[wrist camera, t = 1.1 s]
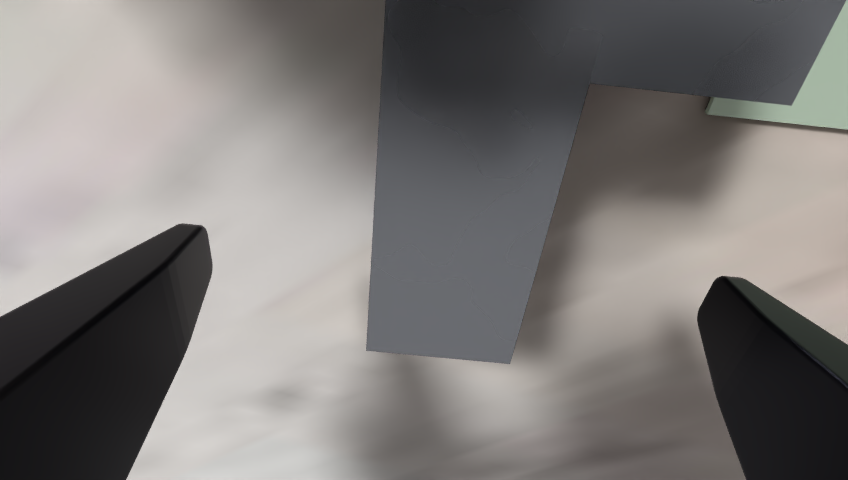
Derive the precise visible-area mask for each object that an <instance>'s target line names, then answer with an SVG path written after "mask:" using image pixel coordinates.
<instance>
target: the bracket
mask: <svg viewBox="0 0 848 480" xmlns="http://www.w3.org/2000/svg"><path fill="white" fill-rule="evenodd" d="M845 2H846V0H386V4H385V22H384V40H383V58H382V76H381V94H380V112H379V130H378V148H377V166H376V184H375V202H374V220H373V238H372V256H371V274H370V292H369V310H368V328H367V346H366V351H377V352H387V353H398V354H409V355H419V356H430V357H441V358H452V359H462V360H473V361H484V362H494V363H505V364H510V362H511V358H512V355H513V351H514V348H515V344H516V341H517V337H518V334H519V330H520V327H521V323H522V320H523V316H524V313H525V309H526V306H527V302H528V299H529V295H530V292H531V288H532V284H533V281H534V277H535V274H536V270H537V267H538V263H539V260H540V256H541V253H542V249H543V246H544V242H545V239H546V235H547V232H548V228H549V225H550V221H551V218H552V214H553V210H554V207H555V203H556V200H557V196H558V193H559V189H560V186H561V182H562V179H563V175H564V172H565V168H566V165H567V161H568V158H569V154H570V151H571V147H572V144H573V140H574V137H575V133H576V129H577V126H578V122H579V119H580V115H581V112H582V108H583V105H584V101H585V98H586V94H587V91H588V87H589V84H590V83H591V84H600V85H609V86H618V87H627V88H636V89H645V90H654V91H663V92H672V93H681V94H690V95H699V96H708V97H717V98H726V99H735V100H744V101H753V102H762V103H771V104H780V105H789V106H792V104H793V102H794V100H795V98H796V97H797V95H798V93H799V91H800V89H801V87H802V85H803V83H804V81H805V79H806V77H807V75H808V73H809V71H810V69H811V68H812V66H813V64H814V62H815V60H816V58H817V56H818V54H819V52H820V50H821V48H822V46H823V44H824V42H825V41H826V39H827V37H828V35H829V33H830V31H831V29H832V27H833V25H834V23H835V21H836V19H837V17H838V15H839V13H840V12H841V10H842V8H843V6H844V4H845Z"/></svg>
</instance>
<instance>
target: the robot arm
mask: <svg viewBox="0 0 848 480" xmlns="http://www.w3.org/2000/svg"><path fill="white" fill-rule="evenodd" d="M211 275H212V258H211V252H210V245H209V239H208V234H207V231H206V228H204V227H203V226H202V225H193V224H178V225H176V226H174V227H172V228H170V229H168V230H166V231H164V232H162V233H160V234H158V235H157V236H155V237H153V238H151V239H149V240H147V241H145V242H143V243H141V244H139V245H137V246H135V247H134V248H132V249H130V250H128V251H126V252H124V253H122V254H120V255H118V256H116V257H114V258H112V259H110V260H109V261H107V262H105V263H103V264H101V265H99V266H97V267H95V268H93V269H91V270H89V271H87V272H86V273H84V274H82V275H80V276H78V277H76V278H74V279H72V280H70V281H68V282H66V283H64V284H62V285H61V286H59V287H57V288H55V289H53V290H51V291H49V292H47V293H45V294H43V295H41V296H39V297H37V298H36V299H34V300H32V301H30V302H28V303H26V304H24V305H22V306H20V307H18V308H16V309H14V310H12V311H10V312H9V313H7V314H5V315H3V316H1V317H0V480H126V479H127V477H128V475H129V472H130V470H131V468H132V466H133V464H134V462H135V460H136V458H137V455H138V453H139V451H140V449H141V447H142V445H143V443H144V441H145V439H146V436H147V434H148V432H149V430H150V428H151V426H152V424H153V422H154V419H155V417H156V415H157V413H158V411H159V409H160V407H161V405H162V402H163V400H164V398H165V396H166V394H167V392H168V390H169V388H170V385H171V383H172V381H173V379H174V377H175V375H176V373H177V371H178V368H179V366H180V364H181V362H182V360H183V357H184V355H185V353H186V351H187V348H188V345H189V342H190V340H191V337H192V334H193V331H194V328H195V324H196V321H197V318H198V315H199V312H200V309H201V306H202V303H203V300H204V297H205V294H206V291H207V288H208V285H209V282H210V279H211ZM697 321H698V326H699V331H700V335H701V339H702V343H703V347H704V351H705V355H706V359H707V363H708V367H709V371H710V375H711V379H712V383H713V387H714V391H715V394H716V398H717V401H718V404H719V407H720V410H721V412H722V415H723V418H724V420H725V423H726V426H727V429H728V431H729V434H730V437H731V439H732V442H733V445H734V448H735V450H736V453H737V456H738V458H739V461H740V464H741V467H742V469H743V472H744V475H745V477H746V480H848V345H847V344H846V343H844V342H842V341H841V340H839V339H838V338H836V337H835V336H833V335H832V334H830V333H828V332H827V331H825V330H824V329H822V328H821V327H819V326H818V325H816V324H814V323H813V322H811V321H810V320H808V319H807V318H805V317H804V316H802V315H800V314H799V313H797V312H796V311H794V310H793V309H791V308H789V307H788V306H786V305H785V304H783V303H782V302H780V301H779V300H777V299H775V298H774V297H772V296H771V295H769V294H768V293H766V292H765V291H763V290H761V289H760V288H758V287H757V286H755V285H754V284H752V283H751V282H749V281H747V280H746V279H743V278H739V277H728V276H721V277H718V278H717V279H716V280H715V281H714V282H713V284H712V286H711V287H710V289H709V291H708V293H707V295H706V297H705V299H704V301H703V302H702V304H701V306H700V308H699V311H698V316H697Z"/></svg>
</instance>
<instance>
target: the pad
mask: <svg viewBox="0 0 848 480" xmlns="http://www.w3.org/2000/svg"><path fill="white" fill-rule="evenodd" d="M705 113H706V114H708V115H717V116H726V117H735V118H745V119H754V120H763V121H773V122H782V123H791V124H800V125H810V126H819V127H828V128H838V129H847V130H848V0H846V2H845V4H844V6H843V8H842V10H841V12H840V13H839V15H838V17H837V19H836V21H835V23H834V25H833V27H832V29H831V31H830V33H829V35H828V37H827V39H826V41H825V42H824V44H823V46H822V48H821V50H820V52H819V54H818V56H817V58H816V60H815V62H814V64H813V66H812V68H811V69H810V71H809V73H808V75H807V77H806V79H805V81H804V83H803V85H802V87H801V89H800V91H799V93H798V95H797V97H796V98H795V100H794V102H793V104H792V106H789V105H780V104H771V103H762V102H753V101H744V100H735V99H726V98H717V97H711V99H710V101H709V104H708V106H707V108H706V111H705Z"/></svg>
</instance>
